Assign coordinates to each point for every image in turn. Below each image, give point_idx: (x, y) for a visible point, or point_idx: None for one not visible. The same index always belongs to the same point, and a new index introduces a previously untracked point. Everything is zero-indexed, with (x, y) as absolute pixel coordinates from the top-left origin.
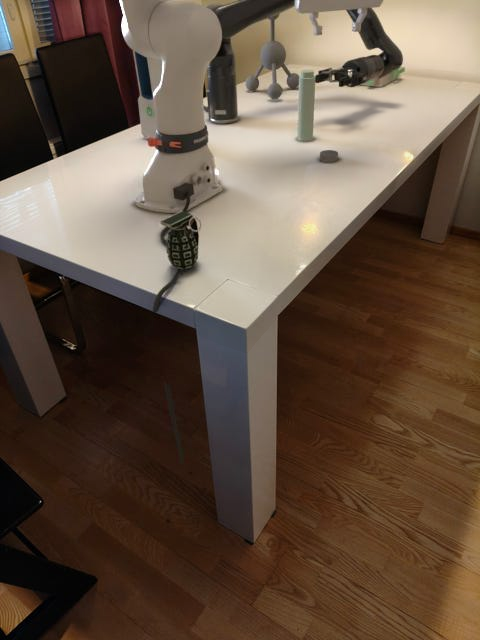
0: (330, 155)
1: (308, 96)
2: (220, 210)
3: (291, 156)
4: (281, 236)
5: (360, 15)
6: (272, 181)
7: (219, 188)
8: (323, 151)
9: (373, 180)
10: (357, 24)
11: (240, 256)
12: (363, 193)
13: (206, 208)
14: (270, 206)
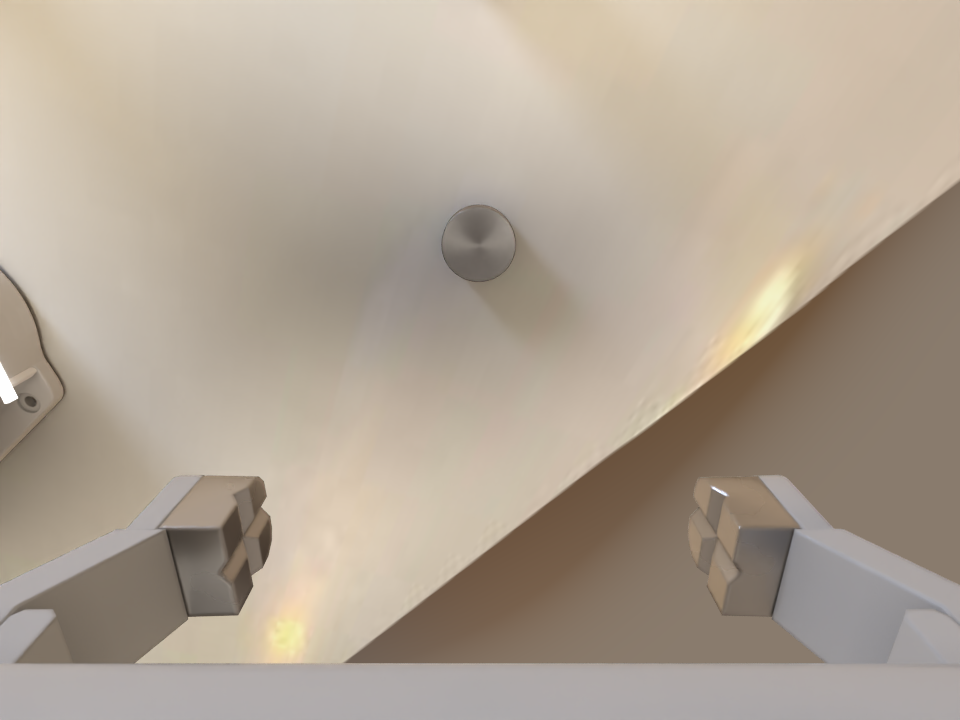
0: (474, 273)
1: None
2: (70, 507)
3: (344, 152)
4: (219, 648)
5: (892, 632)
6: (233, 371)
7: (47, 408)
8: (464, 218)
9: (542, 457)
10: (748, 602)
11: None
12: (475, 523)
13: (28, 486)
14: None
